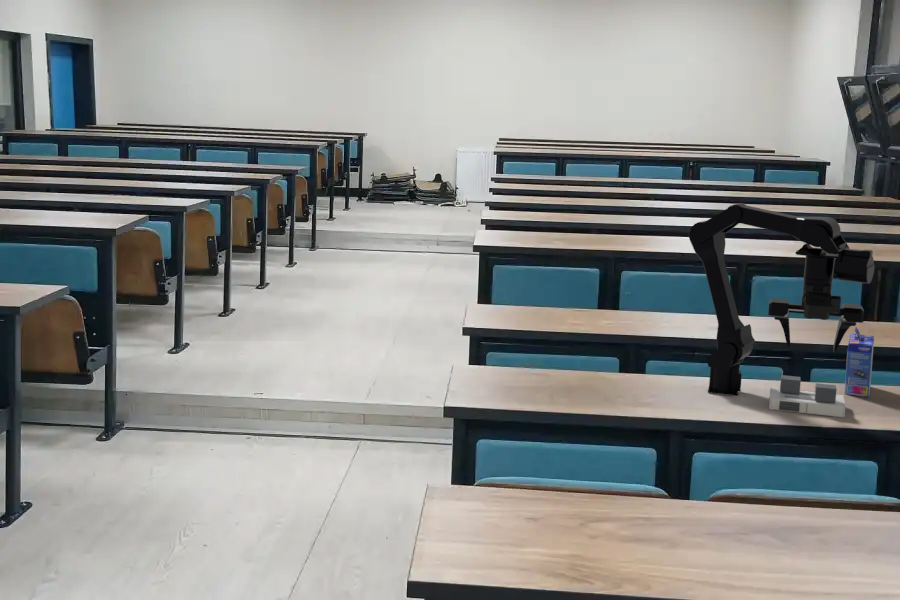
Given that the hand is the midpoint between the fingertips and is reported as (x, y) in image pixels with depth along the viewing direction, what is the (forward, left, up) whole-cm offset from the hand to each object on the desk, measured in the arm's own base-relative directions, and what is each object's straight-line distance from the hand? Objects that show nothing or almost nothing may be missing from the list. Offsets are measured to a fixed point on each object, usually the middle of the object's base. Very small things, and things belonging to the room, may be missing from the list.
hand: (811, 349), depth 202 cm
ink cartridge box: (+11, +18, -13) cm, 25 cm away
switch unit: (0, 0, -13) cm, 13 cm away
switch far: (-4, +2, -10) cm, 11 cm away
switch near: (+3, -2, -10) cm, 11 cm away
